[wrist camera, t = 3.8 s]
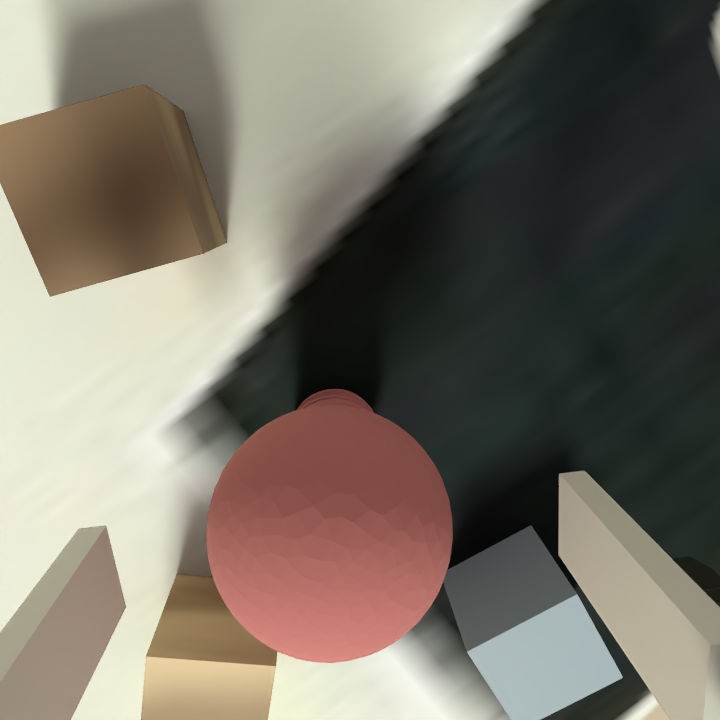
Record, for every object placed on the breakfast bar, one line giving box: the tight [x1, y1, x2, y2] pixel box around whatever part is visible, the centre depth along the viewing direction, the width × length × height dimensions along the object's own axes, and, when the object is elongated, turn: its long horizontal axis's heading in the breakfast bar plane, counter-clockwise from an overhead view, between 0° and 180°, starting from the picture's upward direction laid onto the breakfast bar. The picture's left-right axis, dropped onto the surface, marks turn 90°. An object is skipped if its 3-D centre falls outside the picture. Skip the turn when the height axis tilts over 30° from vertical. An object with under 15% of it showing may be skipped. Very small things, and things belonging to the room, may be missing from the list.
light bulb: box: [206, 389, 453, 663], centre depth 19 cm, size 7×7×12 cm
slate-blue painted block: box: [443, 525, 623, 720], centre depth 26 cm, size 5×5×5 cm
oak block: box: [141, 574, 277, 720], centre depth 25 cm, size 5×5×5 cm
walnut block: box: [0, 85, 227, 297], centre depth 19 cm, size 5×5×5 cm
